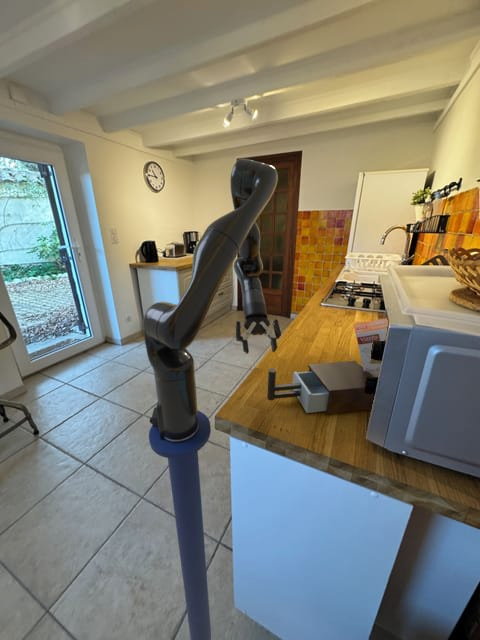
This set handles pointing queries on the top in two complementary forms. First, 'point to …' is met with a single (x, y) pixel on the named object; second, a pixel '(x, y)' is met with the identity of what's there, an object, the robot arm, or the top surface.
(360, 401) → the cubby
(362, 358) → the cracker box
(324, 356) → the top surface
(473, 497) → the top surface
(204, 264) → the robot arm
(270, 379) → the drawer
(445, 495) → the top surface
